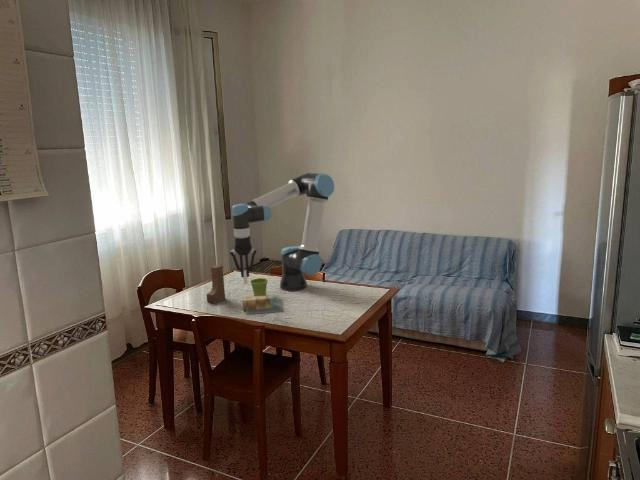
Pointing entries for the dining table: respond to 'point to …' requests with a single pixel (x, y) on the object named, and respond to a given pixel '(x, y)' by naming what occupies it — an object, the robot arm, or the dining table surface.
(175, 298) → the dining table surface
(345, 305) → the dining table surface
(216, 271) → the brown boot
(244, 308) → the tan jar with lid
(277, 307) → the mat
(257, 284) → the plant pot
